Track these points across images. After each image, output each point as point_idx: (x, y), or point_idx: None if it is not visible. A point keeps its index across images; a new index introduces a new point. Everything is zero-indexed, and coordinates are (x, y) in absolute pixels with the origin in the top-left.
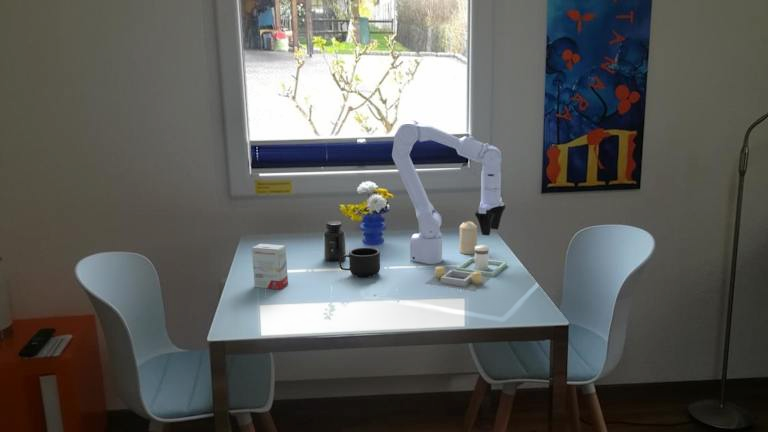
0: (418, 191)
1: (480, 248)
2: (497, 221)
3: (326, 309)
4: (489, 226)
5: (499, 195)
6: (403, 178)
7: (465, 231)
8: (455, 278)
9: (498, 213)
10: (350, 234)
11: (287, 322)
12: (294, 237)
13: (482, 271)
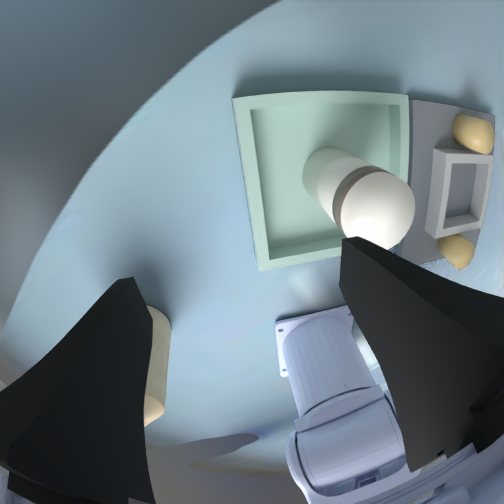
0: None
1: (411, 206)
2: (112, 332)
3: None
4: (424, 270)
5: None
6: None
7: (162, 391)
8: (486, 188)
9: (82, 407)
10: (222, 458)
11: None
12: (278, 465)
13: (405, 141)
